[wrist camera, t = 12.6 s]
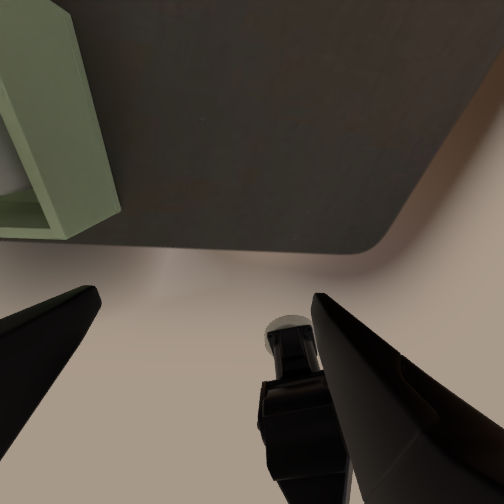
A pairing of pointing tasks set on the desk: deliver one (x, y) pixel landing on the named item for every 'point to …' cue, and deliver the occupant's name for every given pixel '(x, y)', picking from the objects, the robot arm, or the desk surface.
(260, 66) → the desk surface
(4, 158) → the beverage can
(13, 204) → the bin
